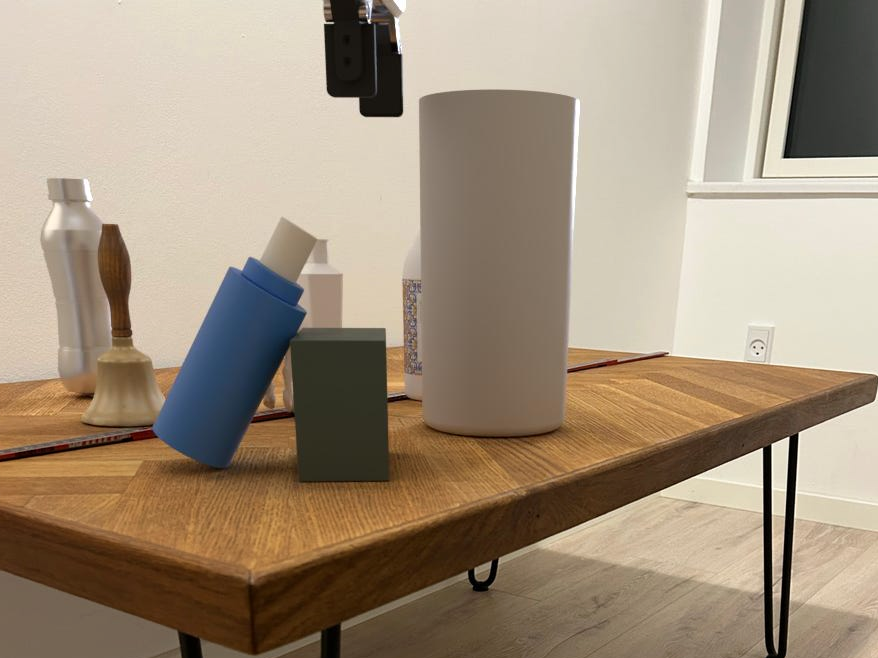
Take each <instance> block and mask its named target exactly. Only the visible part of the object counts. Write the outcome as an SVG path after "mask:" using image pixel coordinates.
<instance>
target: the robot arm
mask: <svg viewBox="0 0 878 658" xmlns="http://www.w3.org/2000/svg"><path fill="white" fill-rule="evenodd" d="M321 1H322V2H323V3H322V13H323V17H324V21H325V23H323V35H324V36H323V37H324V38H323V39H324V40H323V41H324V62H325V63H324V64H325V81H326V82H325V85H326V86H325V87H326V93H327V94H328V96H330V97H331V98H335V99H336V98H337V99H338V98H342V99H349V98H350V99H351V98H352V99H353V98H354V99H357V98H358V107H359V108H358V112H359V114H360V115H361V116H362V117H364V118H401V117H402V116H403V114H404V71H403V70H404V67H403V66H404V65H403V62H404V60H403V54H402V38H401V31H400V30H401V29H400V23H399V17H401V16H402V15H403V13H404V12H405V10H406V6H407V5H406V2H407V0H321Z"/></svg>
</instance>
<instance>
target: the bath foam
mask: <svg viewBox="0 0 878 658" xmlns="http://www.w3.org/2000/svg"><path fill="white" fill-rule="evenodd" d="M401 281H402V282H401V283H402V285H401V286H402V329H403V335H402V337H403V374H404V376H403V377H404V378H403V379H404V395H405V396H406V397H407V398H408V399H411V400H414V401H421V402H422V330H421V242H420V229H419V231H418V232H417V234H416V236H415V237H414V239H413V241H412V243H411V245H410V247H409V249H408V250H407V254H406V255H405V259H404V263H403V267H402V279H401Z"/></svg>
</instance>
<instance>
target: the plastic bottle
mask: <svg viewBox="0 0 878 658" xmlns="http://www.w3.org/2000/svg"><path fill="white" fill-rule="evenodd" d="M46 184H47V192H48V194H47V198H48V200H49V201H52V207H51V210H50V211H49V213H48V215H47V217H46V219H45V220H44V223H43V225H42V227H41V230H40V235H39V242H40V247H41V250H42V252H43V257H44V261H45V264H46V268H47V271H48V275H49V278H50V279H49V280H50V282H51V288H52V293H53V298H54V299H55V302H54V304H55V309H56V317H57V333H58V345H59V348H57V349H58V350H57V372H58V375H59V378H60V381H61V384H62V385H63V386H64V388H65V389H66V390H67V391H68V392H70V393H74V394H79V395H84V396H90V397H94V395H95V391H96V386H97V371H98V366H97V360H98V358H99V357H100V356H101V355H103V354H105V353H106V352H108V351H109V350H110V349H111V348H112V334H111V330H112V327H111V316H110V306H109V301H108V298H107V295H106V293H105V290H104V288H103V285H102V282H101V278H100V273H99V267H98V246H99V241H100V237H101V232H102V224H105V223H104V222H103V220H102V219H101V217H99V215H98V214H97V213H96V212H95V211H94V210H93V209H92V206H91V202H94V199H93V195H92V193H91V187H90V186H91V185H90V182H89V179H85V178H84V179H83V178H82V179H81V178H67V177H66V178H65V177H64V178H63V177H62V178H61V177H59V178H57V177H54V178H53V177H52V178H51V177H50V178H49V177H48V178H46Z"/></svg>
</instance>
